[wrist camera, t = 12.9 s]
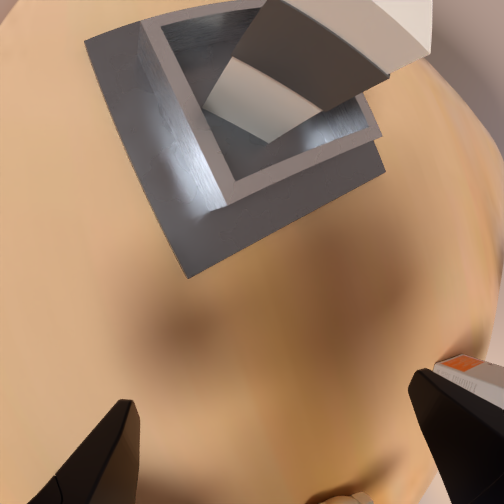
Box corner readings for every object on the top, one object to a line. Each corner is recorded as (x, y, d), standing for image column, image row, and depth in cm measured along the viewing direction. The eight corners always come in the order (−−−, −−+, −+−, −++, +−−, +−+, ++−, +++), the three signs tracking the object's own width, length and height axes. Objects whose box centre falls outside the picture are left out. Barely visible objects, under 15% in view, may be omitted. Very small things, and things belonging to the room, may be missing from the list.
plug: (269, 145, 18) (432, 57, 6) (199, 108, 16) (301, -45, 5) (295, 89, 18) (434, -6, 7) (233, 53, 17) (337, -81, 5)
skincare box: (461, 352, 28) (545, 377, 17) (452, 385, 28) (531, 415, 17) (433, 361, 26) (529, 396, 15) (424, 398, 26) (512, 439, 15)
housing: (186, 277, 17) (200, 290, 13) (84, 45, 14) (78, 7, 10) (380, 172, 22) (420, 164, 18) (290, 0, 18) (315, -29, 14)
